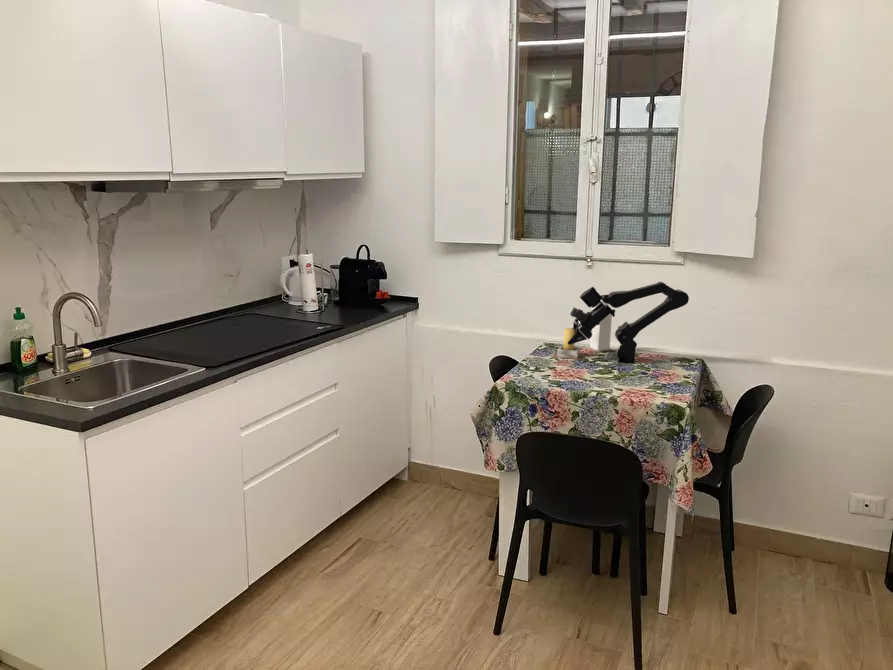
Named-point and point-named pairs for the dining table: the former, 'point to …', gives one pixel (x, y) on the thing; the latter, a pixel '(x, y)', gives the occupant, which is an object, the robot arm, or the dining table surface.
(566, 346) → the post
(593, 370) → the dining table surface
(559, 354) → the stand
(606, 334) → the milk
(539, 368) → the dining table surface
